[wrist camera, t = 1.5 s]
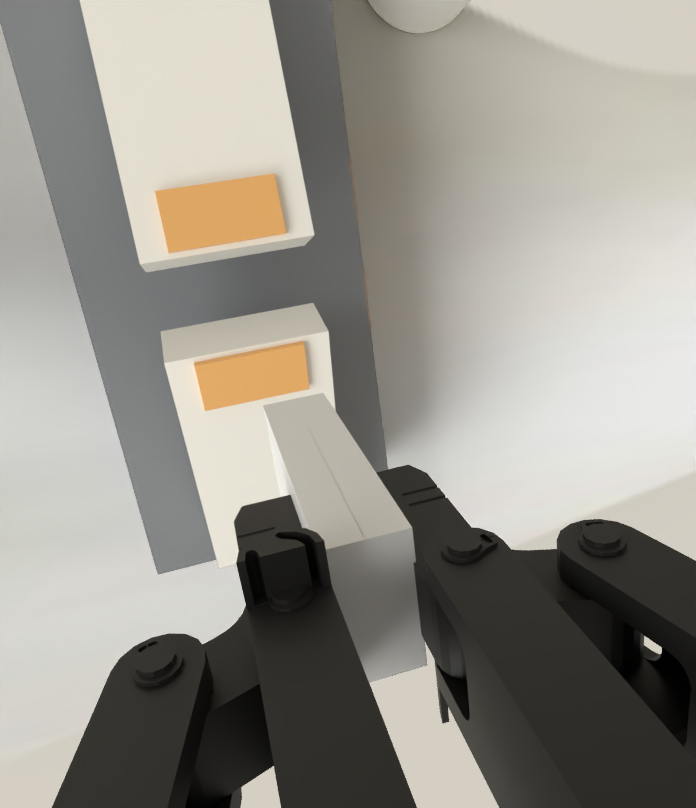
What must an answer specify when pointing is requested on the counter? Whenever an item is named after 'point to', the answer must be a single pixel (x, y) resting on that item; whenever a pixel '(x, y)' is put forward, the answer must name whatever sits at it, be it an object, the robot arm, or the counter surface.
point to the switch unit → (199, 283)
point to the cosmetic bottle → (418, 13)
